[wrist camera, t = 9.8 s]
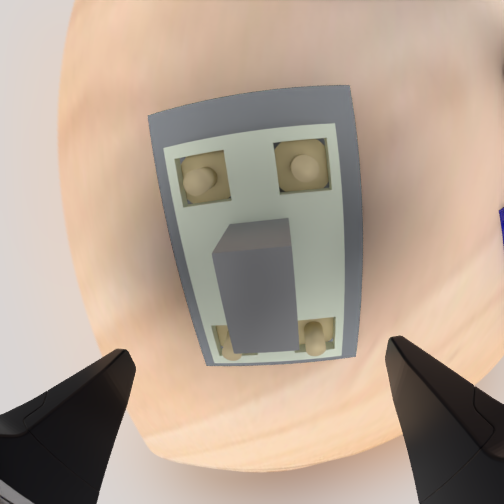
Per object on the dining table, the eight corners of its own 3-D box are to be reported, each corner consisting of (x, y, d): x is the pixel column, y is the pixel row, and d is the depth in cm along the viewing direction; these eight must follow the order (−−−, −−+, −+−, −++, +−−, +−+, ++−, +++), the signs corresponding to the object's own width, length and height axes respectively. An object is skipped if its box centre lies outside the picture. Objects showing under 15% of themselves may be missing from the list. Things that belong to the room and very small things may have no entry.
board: (331, 124, 12) (357, 114, 8) (339, 347, 17) (351, 401, 13) (169, 147, 14) (123, 151, 9) (216, 355, 19) (201, 407, 14)
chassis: (345, 88, 14) (367, 70, 10) (353, 348, 20) (364, 388, 16) (154, 116, 15) (117, 111, 11) (209, 357, 22) (196, 397, 18)
